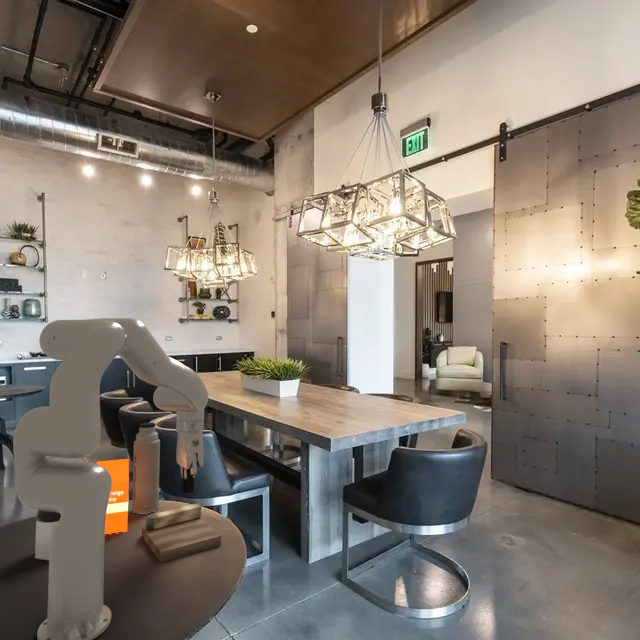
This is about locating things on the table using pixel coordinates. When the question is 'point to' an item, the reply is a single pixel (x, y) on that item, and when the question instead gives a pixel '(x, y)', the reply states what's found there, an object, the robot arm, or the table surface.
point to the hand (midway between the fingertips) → (187, 491)
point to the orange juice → (117, 496)
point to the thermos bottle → (146, 469)
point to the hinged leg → (173, 516)
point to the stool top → (181, 539)
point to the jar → (45, 532)
